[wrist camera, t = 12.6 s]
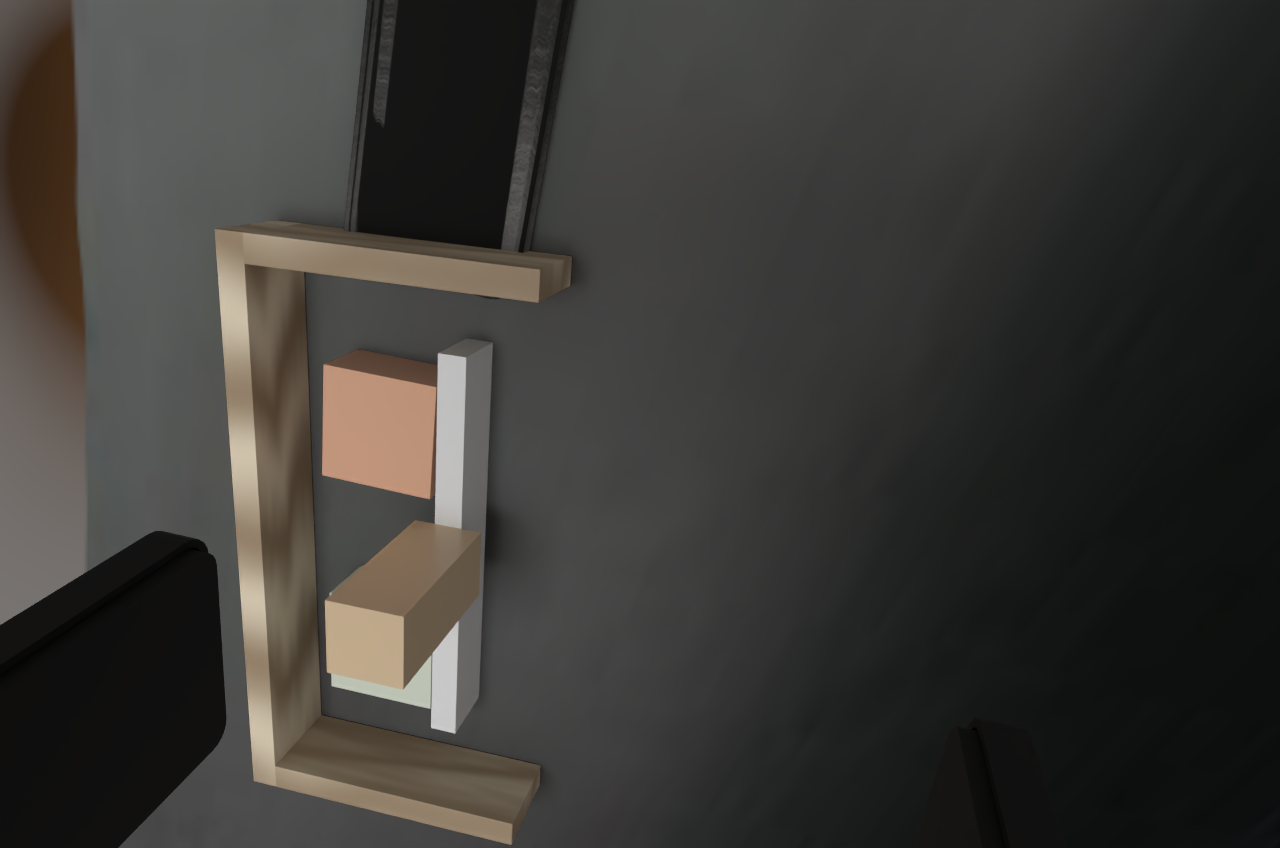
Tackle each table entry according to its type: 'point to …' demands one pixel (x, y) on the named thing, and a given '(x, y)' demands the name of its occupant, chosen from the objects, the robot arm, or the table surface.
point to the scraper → (429, 563)
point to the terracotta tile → (381, 422)
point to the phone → (455, 119)
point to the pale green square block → (412, 694)
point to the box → (284, 523)
